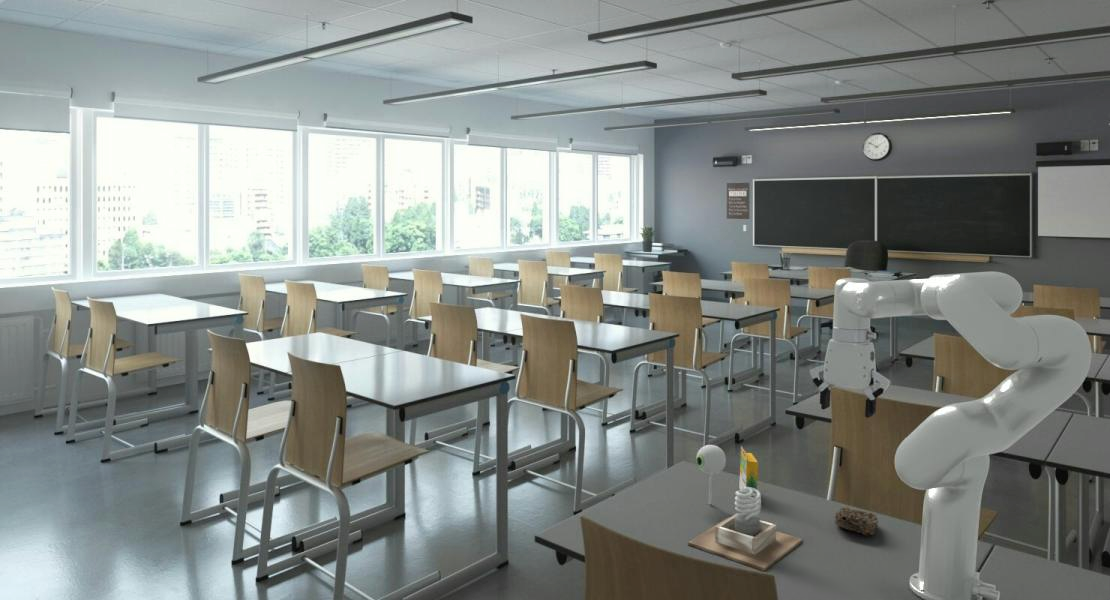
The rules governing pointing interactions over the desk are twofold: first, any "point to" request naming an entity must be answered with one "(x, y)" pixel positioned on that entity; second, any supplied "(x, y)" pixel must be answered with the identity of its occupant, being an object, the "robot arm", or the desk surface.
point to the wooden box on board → (746, 543)
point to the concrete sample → (856, 521)
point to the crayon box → (748, 471)
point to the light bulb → (747, 511)
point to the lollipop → (711, 462)
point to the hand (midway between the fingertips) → (846, 412)
